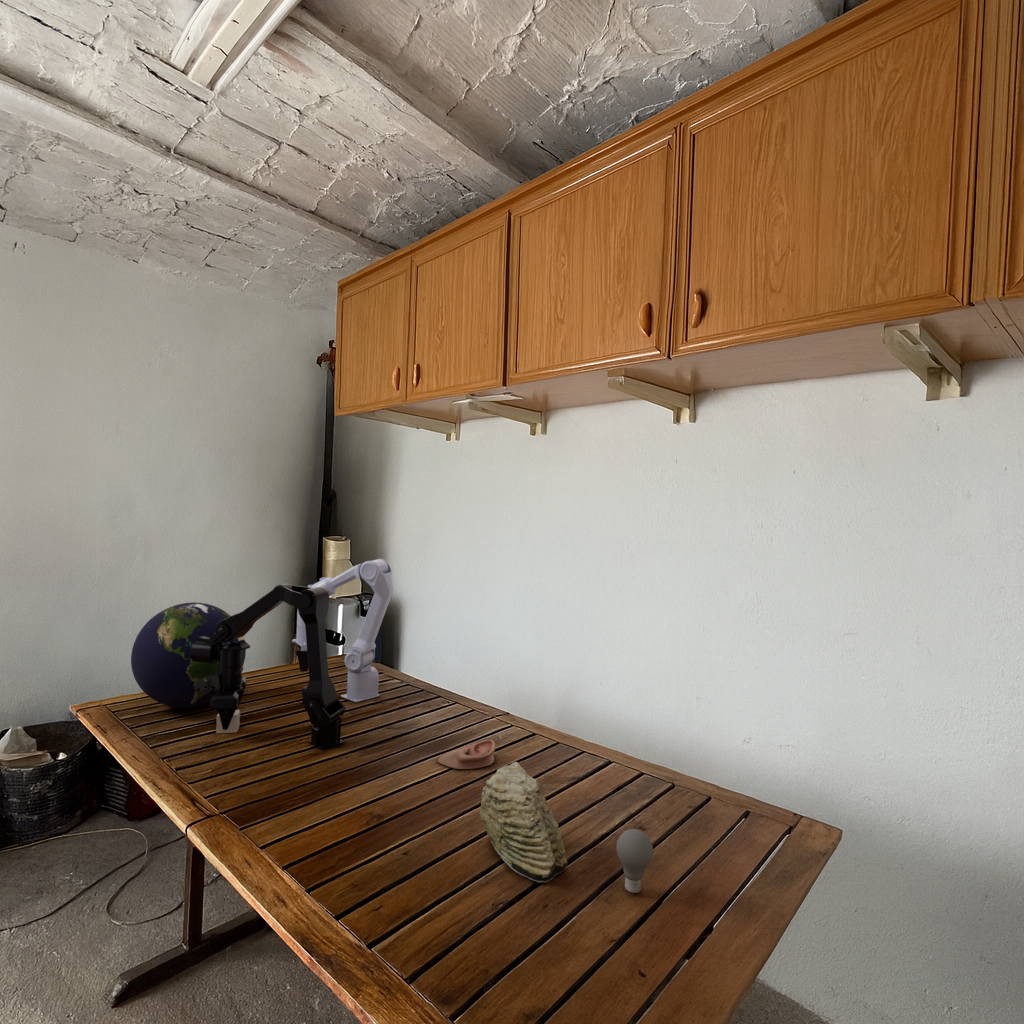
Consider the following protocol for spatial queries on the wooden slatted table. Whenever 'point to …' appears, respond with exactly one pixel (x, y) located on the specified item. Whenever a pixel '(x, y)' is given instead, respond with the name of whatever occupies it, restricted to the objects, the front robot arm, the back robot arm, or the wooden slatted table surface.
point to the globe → (176, 654)
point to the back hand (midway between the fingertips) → (304, 668)
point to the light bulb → (634, 857)
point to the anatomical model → (470, 756)
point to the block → (233, 725)
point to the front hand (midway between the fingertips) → (228, 723)
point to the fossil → (522, 824)
